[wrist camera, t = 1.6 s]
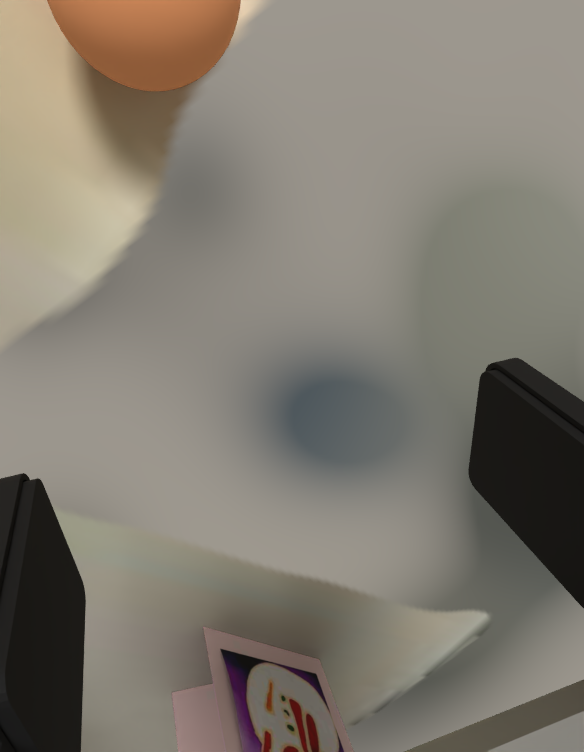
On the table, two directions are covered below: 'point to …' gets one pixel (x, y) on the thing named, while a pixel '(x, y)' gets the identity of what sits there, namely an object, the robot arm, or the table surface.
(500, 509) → the robot arm
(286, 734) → the greeting card
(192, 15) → the ball
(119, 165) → the table surface
